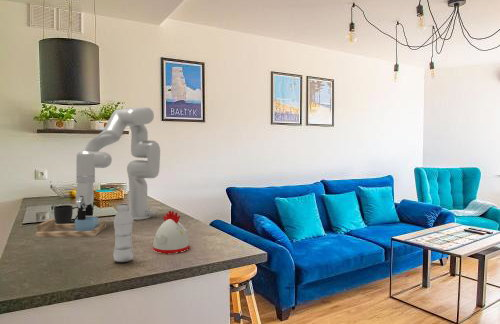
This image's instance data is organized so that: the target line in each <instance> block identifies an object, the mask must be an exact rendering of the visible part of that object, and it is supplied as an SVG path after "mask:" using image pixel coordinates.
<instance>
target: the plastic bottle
mask: <svg viewBox="0 0 500 324" xmlns="http://www.w3.org/2000/svg"><path fill="white" fill-rule="evenodd" d="M116 207H117V209H116V211H117V212H116V214H115V216H114V217H113V221H112V222H113V228H114V239H115V240H114V249H113V254H112V255H113V260H114V262H116V263H126V262H130V261H132V259H133V258H134V248H133V242H132V241H133V239H132V238H133V236H132V234H133V225H134V220H133V217H132V215H131V214H130V213H129V203H119V204H117V205H116Z"/></svg>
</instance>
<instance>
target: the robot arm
mask: <svg viewBox="0 0 500 324" xmlns="http://www.w3.org/2000/svg"><path fill="white" fill-rule="evenodd" d="M154 118H155V114H154V111H153V109H151V108H150V107H147V106H146V107H143V106H142V107H135V106H134V107H128V108H121V109H119V108H118V109H115V110H114V111H113V112H112V113H111V116H110V117H109V118H108V121H107V123H106V124H105V126H104V128H103V129H102V131H101V132H100V133H98V134H97V135H95V136H94V137H93V138H91V139H90V140H89V141H88V142H87V143H86V145H85V147H84V148H83V150H82V151H80V152H77V154H76V159H75V160H76V163H75V164H76V165H75V167H76V174H75V175H76V179H75V180H76V184H77V185H76V190H75V207H77V208H76V209H77V211H76V212H77V215H78V217H77V218H78V220H85V219H86V217H94V204H93V203H94V198H95V197H94V196H95V193H94V191H95V190H94V183H95V182H96V176H95V175H96V169H98V168H99V169H104V168H107V167H109V166H110V165H111V164H112V160H113V158H112V156H111V155H110V154H109V152H106V151H105V152H104V151H100V150H102V149H103V148H105V147H107V146H110V145H113V144H115V143H117V142H118V141H119V140H120V138H121V137H122V136H123V134H124V131H125V129H126V127H129V129H130V131H131V134H130V135H131V137H130V138H131V139H130V140H131V141H130V154H131V156H133V157H134V158H137V159H134V160H131V161H130V162H129V163H128V164H127V167H126V171H127V177H128V187H129V188H128V189H129V190H128V191H129V192H128V199H129V201H128V204H129V210H128V212H129V213H130V214H131V215H132V217H133V221H140V220H147V219H150V218H151V215H154V216H155V215H156V210H149V209H150V208H148V183H147V181H146V179H156V178H157V177H158V176H159V173H160V169H161V168H160V167H161V148H160V144H159V143H158V142H157V141H155V140H148V137H149V135H148V133H149V132H148V129H147V127H146V126H145V125H149V124H151V123H152V122H153V120H154ZM139 158H140V159H141V160H140V159H139ZM143 159H147V160H143Z"/></svg>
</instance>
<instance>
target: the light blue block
mask: <svg viewBox="0 0 500 324" xmlns="http://www.w3.org/2000/svg"><path fill="white" fill-rule="evenodd" d="M98 223H99V216H86V219H85V220H78V217H77V219H76V220H75V222H74V224H75V229H74V231H92V230H93V229H94V228H95V227H97V226H98Z"/></svg>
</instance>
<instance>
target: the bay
mask: <svg viewBox="0 0 500 324" xmlns="http://www.w3.org/2000/svg"><path fill="white" fill-rule="evenodd" d="M106 228H107V223H106V222H100V223H99V222H98V226H97V227H95V228H94V229H93V230H92V231H75V223H70V224H56V221H55V217H54V218H53V217H52V218H49V219H47V220H45V221H42V222H41V223H39V224H37V231H36V232H35V237H36V238H61V237H63V238H64V237H66V238H69V237H72V238H73V237H76V238H77V237H96V236H97V235H99V234H100V233H102V231H104V230H105V229H106ZM59 229H60V231H54V230H59ZM61 229H62V230H65V231H62V230H61ZM68 229H69V230H68ZM72 229H74V230H72ZM66 230H67V231H66ZM71 230H72V231H71Z"/></svg>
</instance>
